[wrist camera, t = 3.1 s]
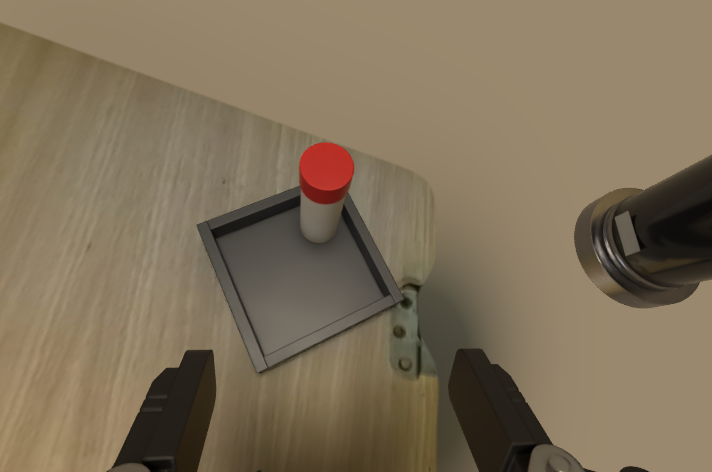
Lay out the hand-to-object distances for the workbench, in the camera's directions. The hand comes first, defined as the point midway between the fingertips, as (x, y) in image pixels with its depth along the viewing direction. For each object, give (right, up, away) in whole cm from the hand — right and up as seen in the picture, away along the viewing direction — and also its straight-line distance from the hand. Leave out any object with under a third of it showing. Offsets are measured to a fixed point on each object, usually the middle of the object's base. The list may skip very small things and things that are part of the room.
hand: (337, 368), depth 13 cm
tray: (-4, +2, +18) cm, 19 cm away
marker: (-2, +5, +19) cm, 20 cm away
